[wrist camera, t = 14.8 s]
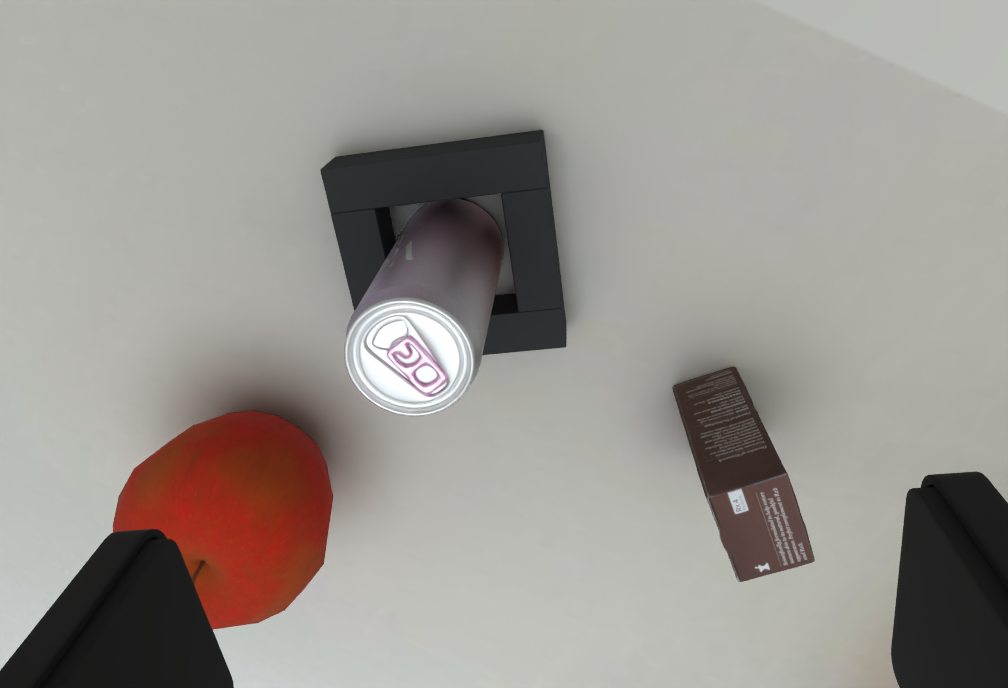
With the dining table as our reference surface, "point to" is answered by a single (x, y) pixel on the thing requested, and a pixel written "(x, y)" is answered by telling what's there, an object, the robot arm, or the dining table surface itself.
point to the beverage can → (427, 311)
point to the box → (742, 477)
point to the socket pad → (451, 175)
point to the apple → (237, 511)
